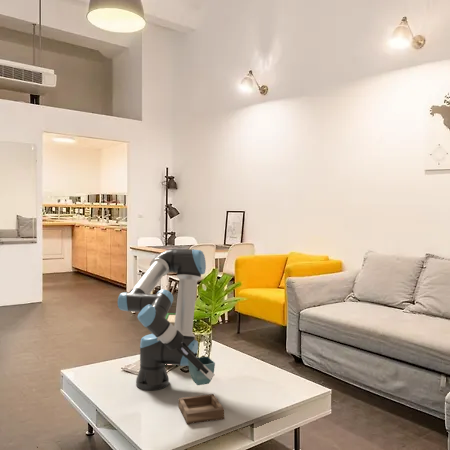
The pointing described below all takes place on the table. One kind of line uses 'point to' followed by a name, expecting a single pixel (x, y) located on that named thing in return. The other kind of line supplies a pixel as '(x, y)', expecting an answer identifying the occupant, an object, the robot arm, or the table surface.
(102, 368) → the table surface
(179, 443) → the table surface
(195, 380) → the flower pot
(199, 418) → the wooden tray
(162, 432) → the table surface
